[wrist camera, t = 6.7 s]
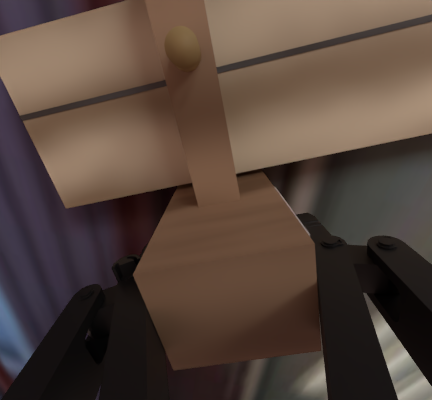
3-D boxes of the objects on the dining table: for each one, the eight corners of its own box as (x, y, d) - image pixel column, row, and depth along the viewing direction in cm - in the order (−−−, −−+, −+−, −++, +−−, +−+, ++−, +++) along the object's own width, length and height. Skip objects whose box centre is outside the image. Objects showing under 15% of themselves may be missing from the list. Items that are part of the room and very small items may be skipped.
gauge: (117, -33, 12) (-176, -449, 3) (226, -65, 12) (260, -667, 3) (195, 240, 19) (173, 370, 9) (268, 227, 18) (321, 350, 9)
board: (26, 53, 15) (-19, 40, 12) (606, -104, 12) (722, -167, 9) (88, 193, 19) (65, 208, 16) (547, 97, 16) (619, 94, 13)
